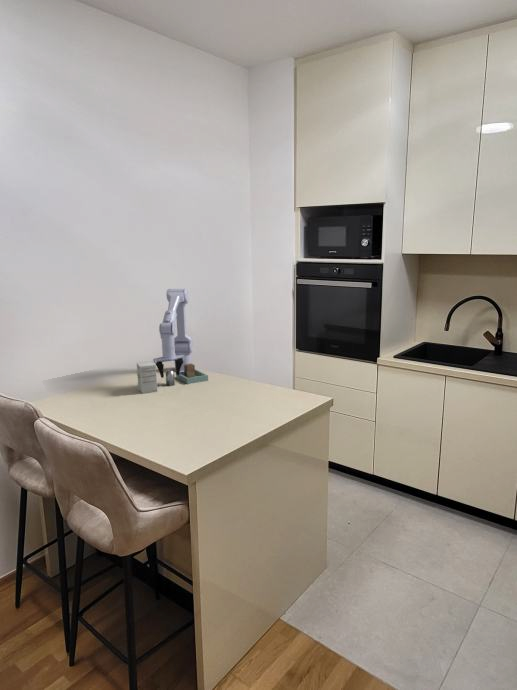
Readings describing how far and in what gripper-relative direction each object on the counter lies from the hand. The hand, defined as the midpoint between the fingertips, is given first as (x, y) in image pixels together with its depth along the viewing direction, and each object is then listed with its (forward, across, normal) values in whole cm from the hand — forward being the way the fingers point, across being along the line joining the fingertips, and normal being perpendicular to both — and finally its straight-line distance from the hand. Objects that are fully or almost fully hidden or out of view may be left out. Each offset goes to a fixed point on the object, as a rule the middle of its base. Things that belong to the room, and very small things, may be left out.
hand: (170, 376), depth 224 cm
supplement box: (+5, -12, -3) cm, 13 cm away
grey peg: (+4, 0, 0) cm, 4 cm away
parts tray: (+4, +13, +4) cm, 14 cm away
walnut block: (+4, +13, +6) cm, 14 cm away
